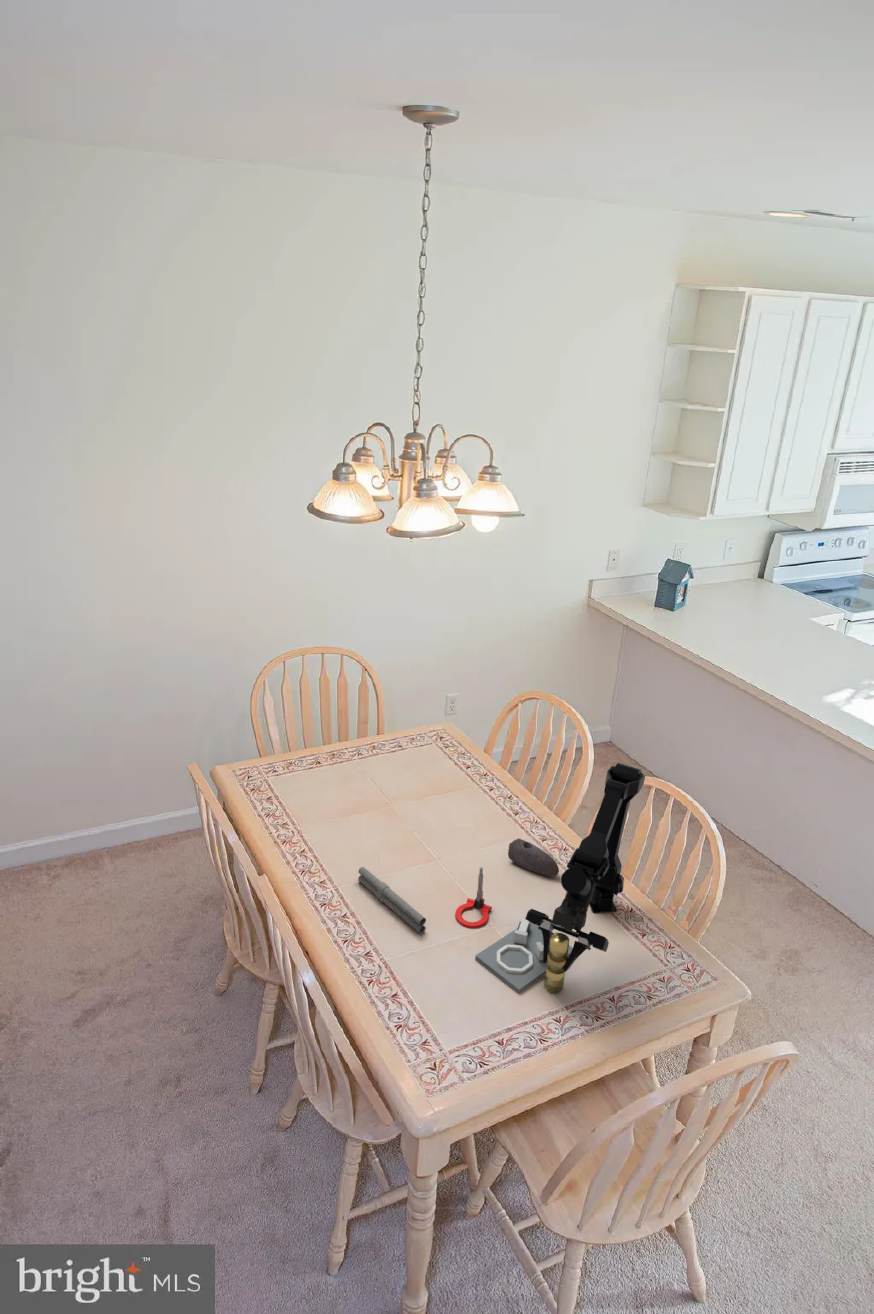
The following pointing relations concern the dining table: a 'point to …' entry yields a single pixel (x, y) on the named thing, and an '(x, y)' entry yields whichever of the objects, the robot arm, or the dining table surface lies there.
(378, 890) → the metal rod assembly
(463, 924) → the tow hook
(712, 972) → the dining table surface
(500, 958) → the base
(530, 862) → the perforated stone tool
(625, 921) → the dining table surface
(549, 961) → the coupler
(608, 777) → the robot arm
